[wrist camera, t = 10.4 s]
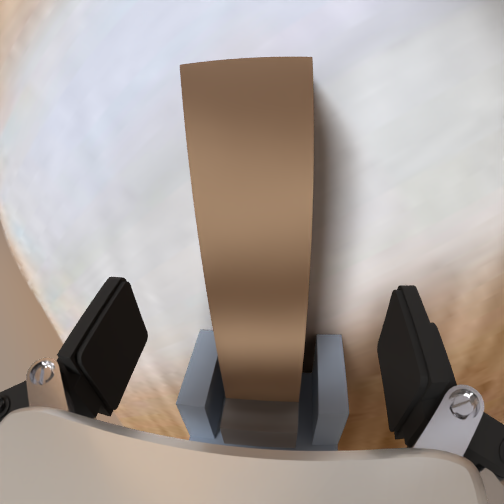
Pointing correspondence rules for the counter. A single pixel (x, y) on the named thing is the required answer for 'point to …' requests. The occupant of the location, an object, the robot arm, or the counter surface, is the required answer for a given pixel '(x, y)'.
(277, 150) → the brown wooden bar
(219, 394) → the grey slotted holder
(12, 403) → the robot arm
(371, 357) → the counter surface
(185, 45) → the counter surface
